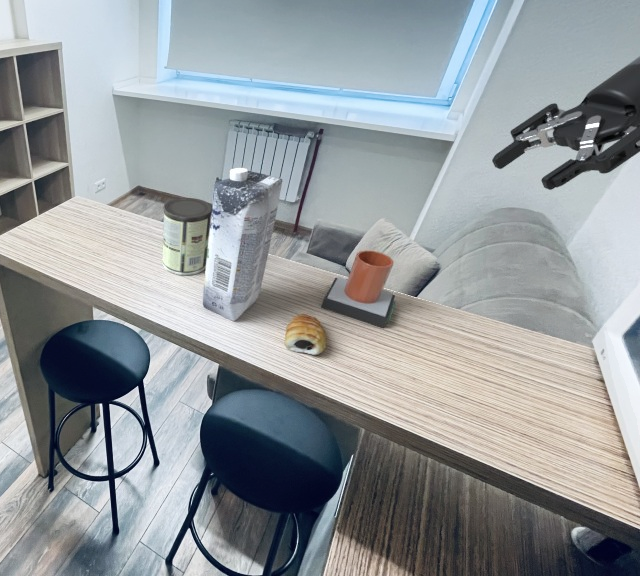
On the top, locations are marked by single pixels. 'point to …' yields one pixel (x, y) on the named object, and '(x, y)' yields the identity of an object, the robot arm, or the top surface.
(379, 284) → the terracotta flower pot
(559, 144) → the robot arm
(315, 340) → the pastry
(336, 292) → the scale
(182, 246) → the coffee can
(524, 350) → the top surface
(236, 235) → the juice carton
